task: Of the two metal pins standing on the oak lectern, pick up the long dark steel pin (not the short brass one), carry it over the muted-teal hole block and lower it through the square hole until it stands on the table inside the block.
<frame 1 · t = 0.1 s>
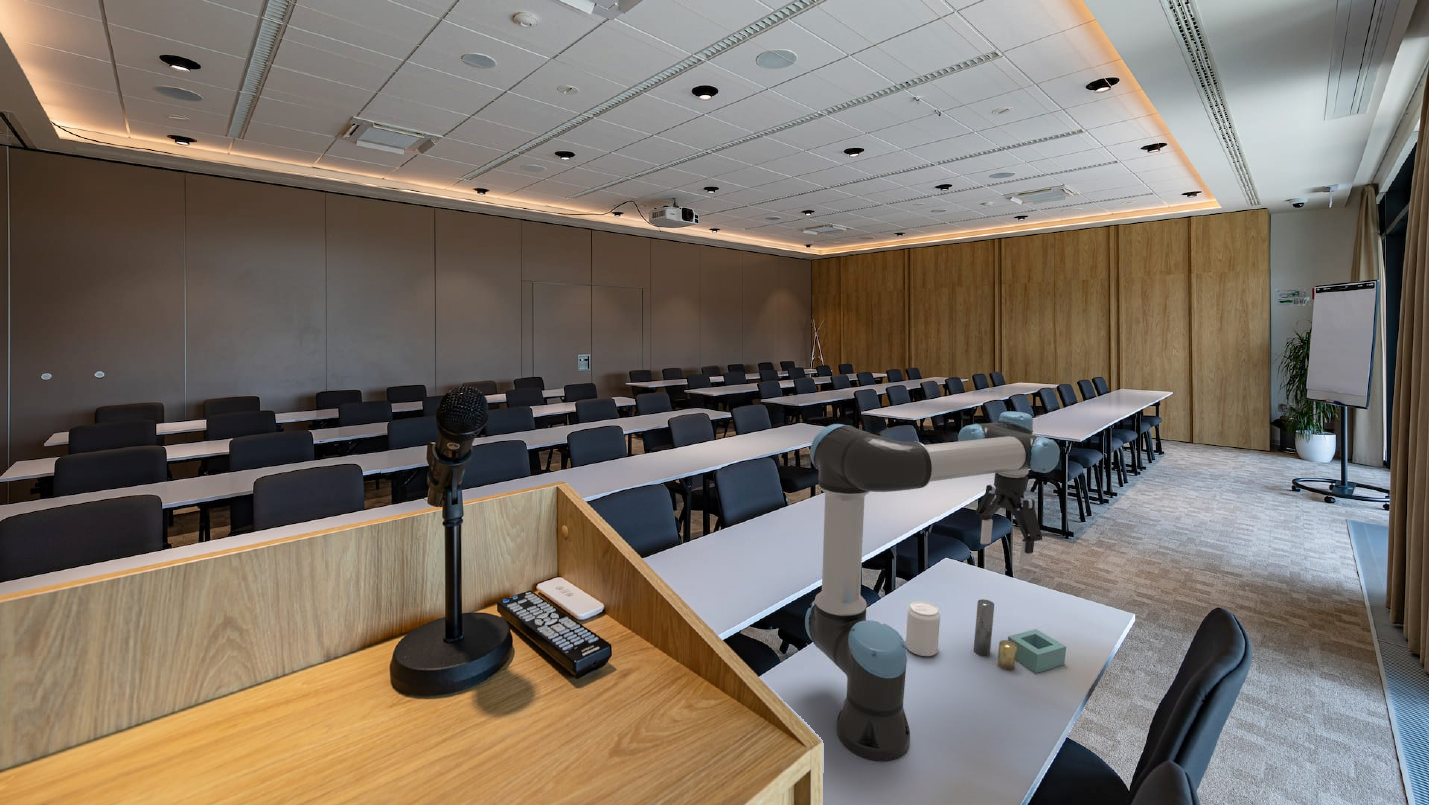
hand: (1004, 553, 156), 28 cm above the table, fingers open, 13 cm apart
hole block: (1035, 659, 158), on the table
beverage can: (921, 650, 162), on the table
short pin: (1006, 666, 155), on the table
long pin: (981, 652, 161), on the table
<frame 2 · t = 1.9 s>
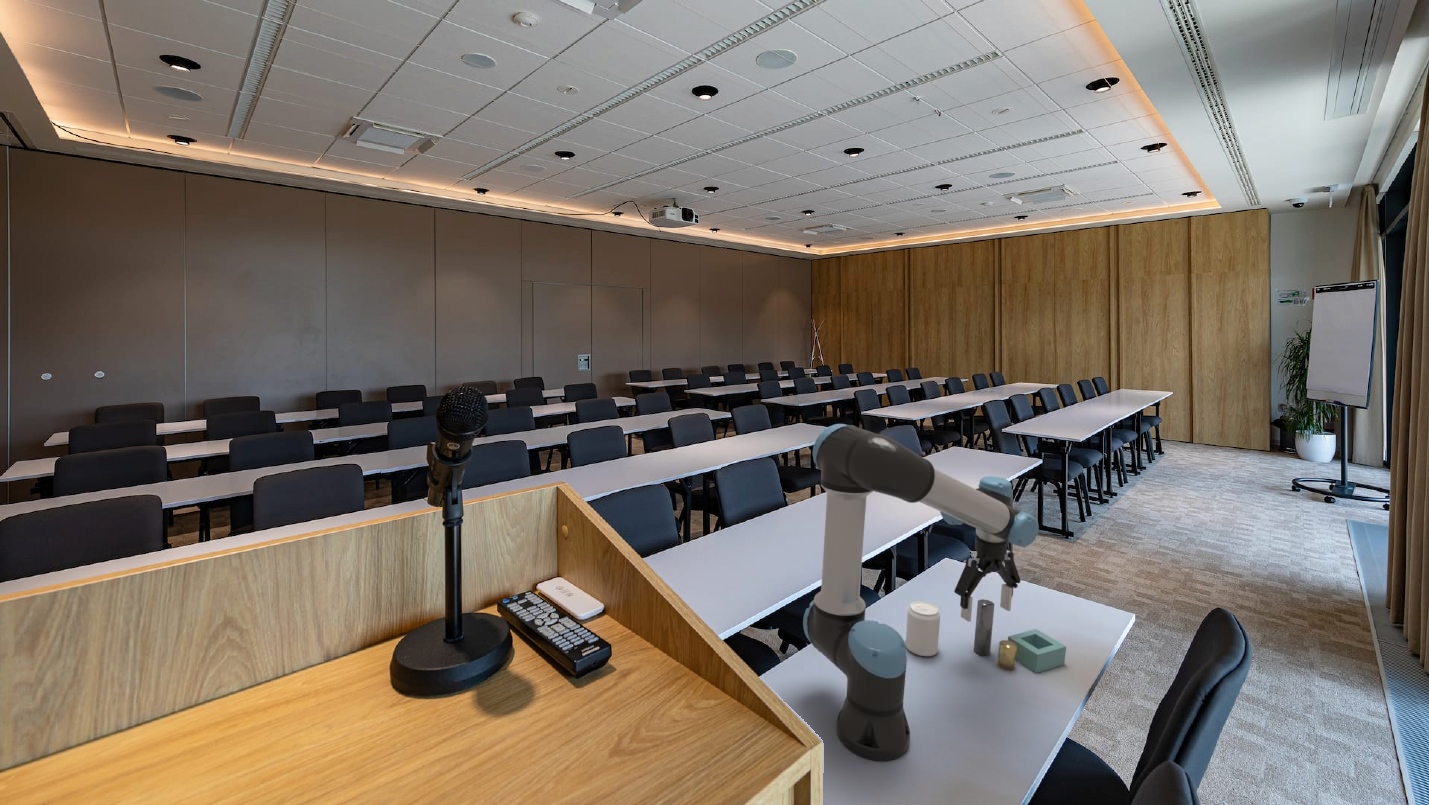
hand: (985, 614, 159), 11 cm above the table, fingers open, 13 cm apart
nothing on the table moved.
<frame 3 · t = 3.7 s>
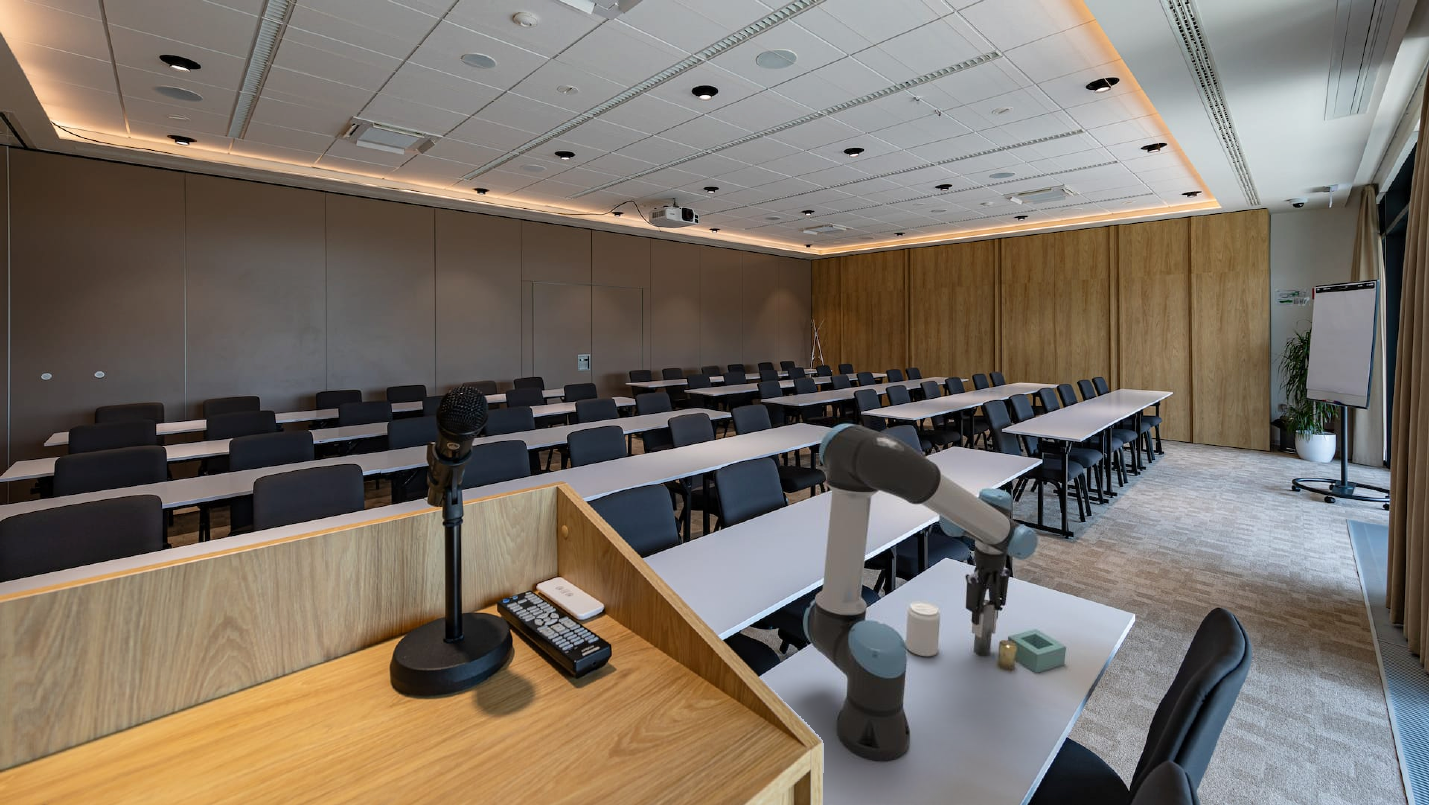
hand: (983, 632, 160), 6 cm above the table, fingers closed on long pin, 4 cm apart
long pin: (981, 652, 161), on the table, touching gripper
everything else where it was.
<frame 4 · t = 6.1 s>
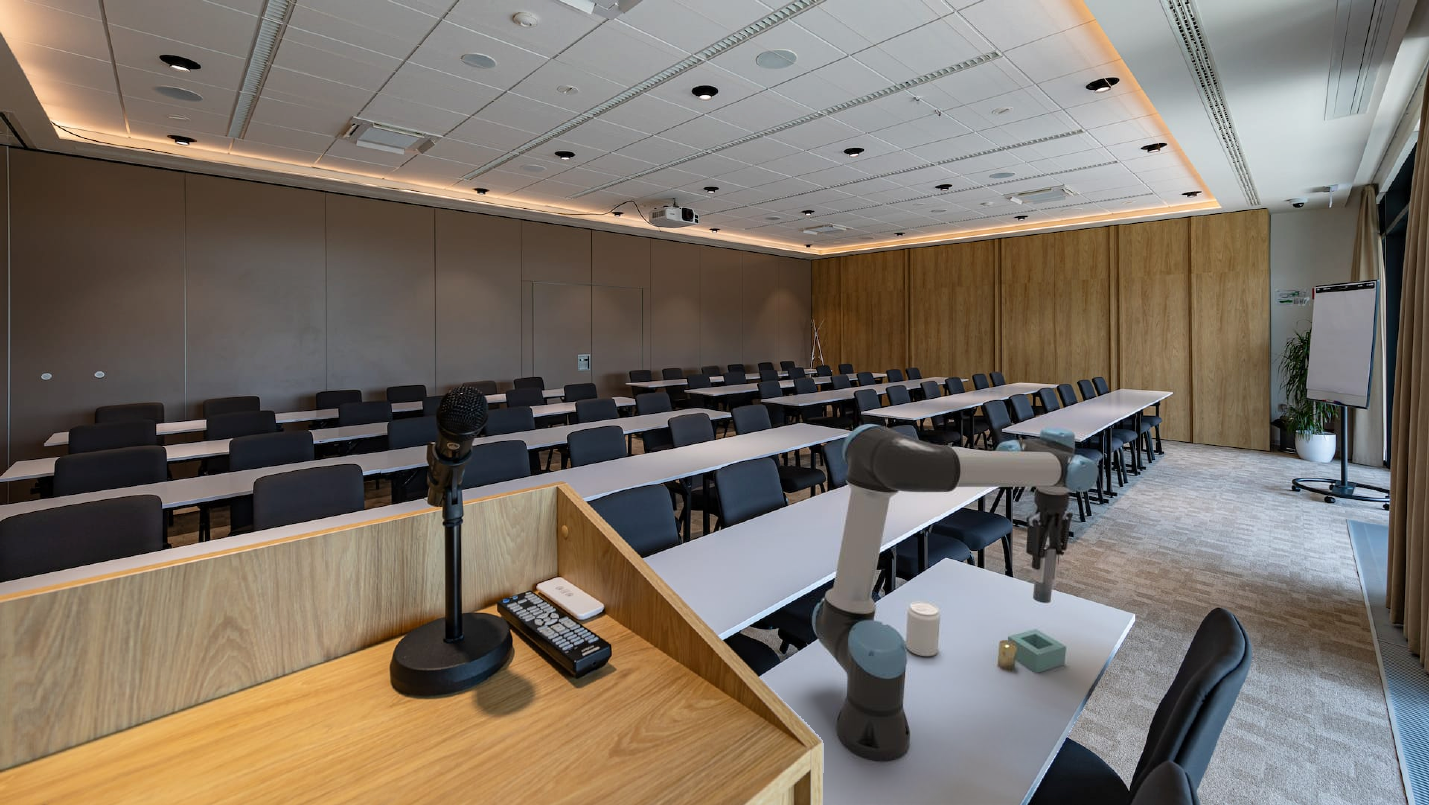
hand: (1043, 578, 154), 22 cm above the table, fingers closed on long pin, 4 cm apart
long pin: (1041, 599, 155), point 17 cm above the table, touching gripper
everything else where it was.
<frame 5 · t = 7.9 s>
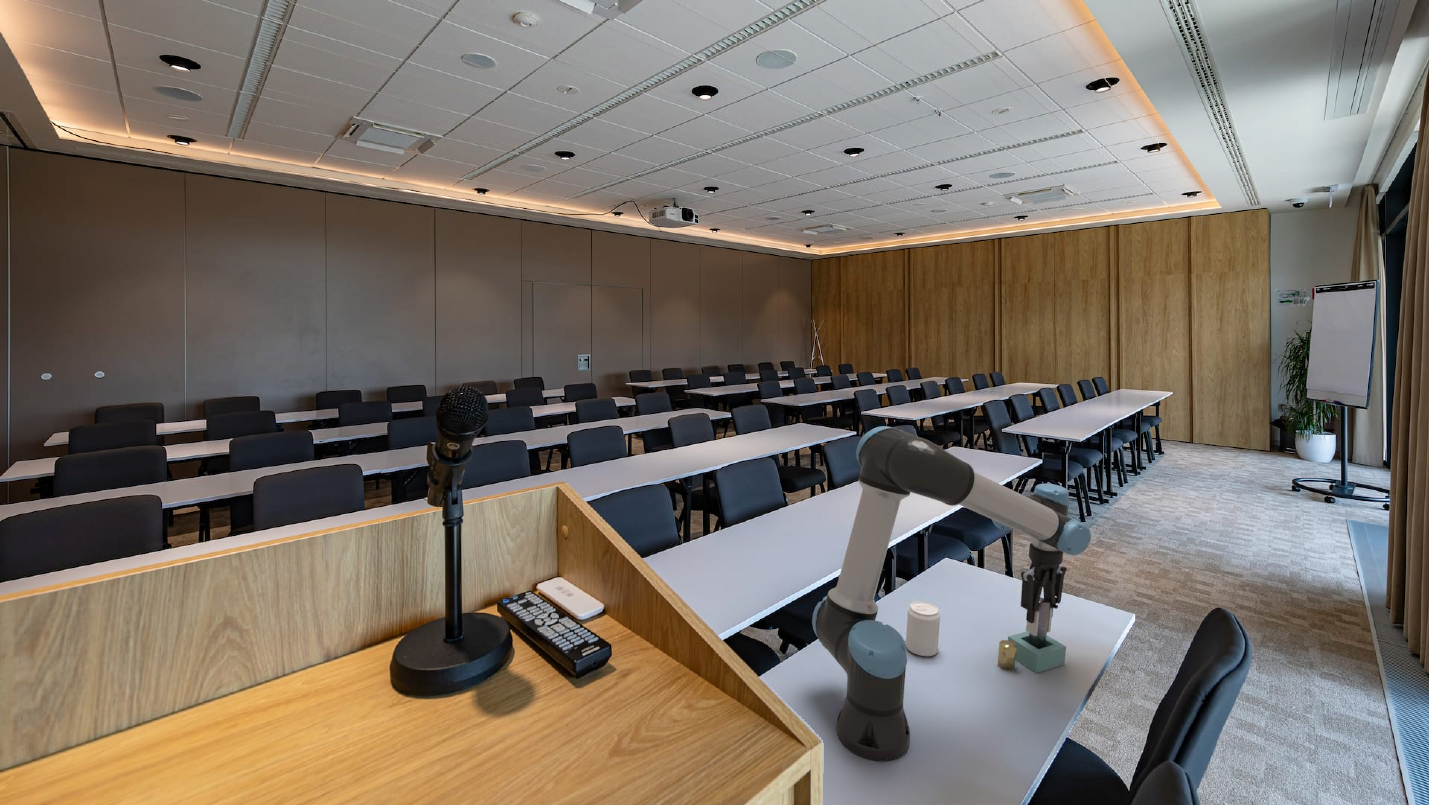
hand: (1038, 631, 157), 8 cm above the table, fingers closed on long pin, 4 cm apart
long pin: (1036, 651, 158), point 2 cm above the table, touching gripper
everything else where it was.
when the fingers open (7 cm above the table, at t = 9.0 s): long pin drops 1 cm, resting in hole block.
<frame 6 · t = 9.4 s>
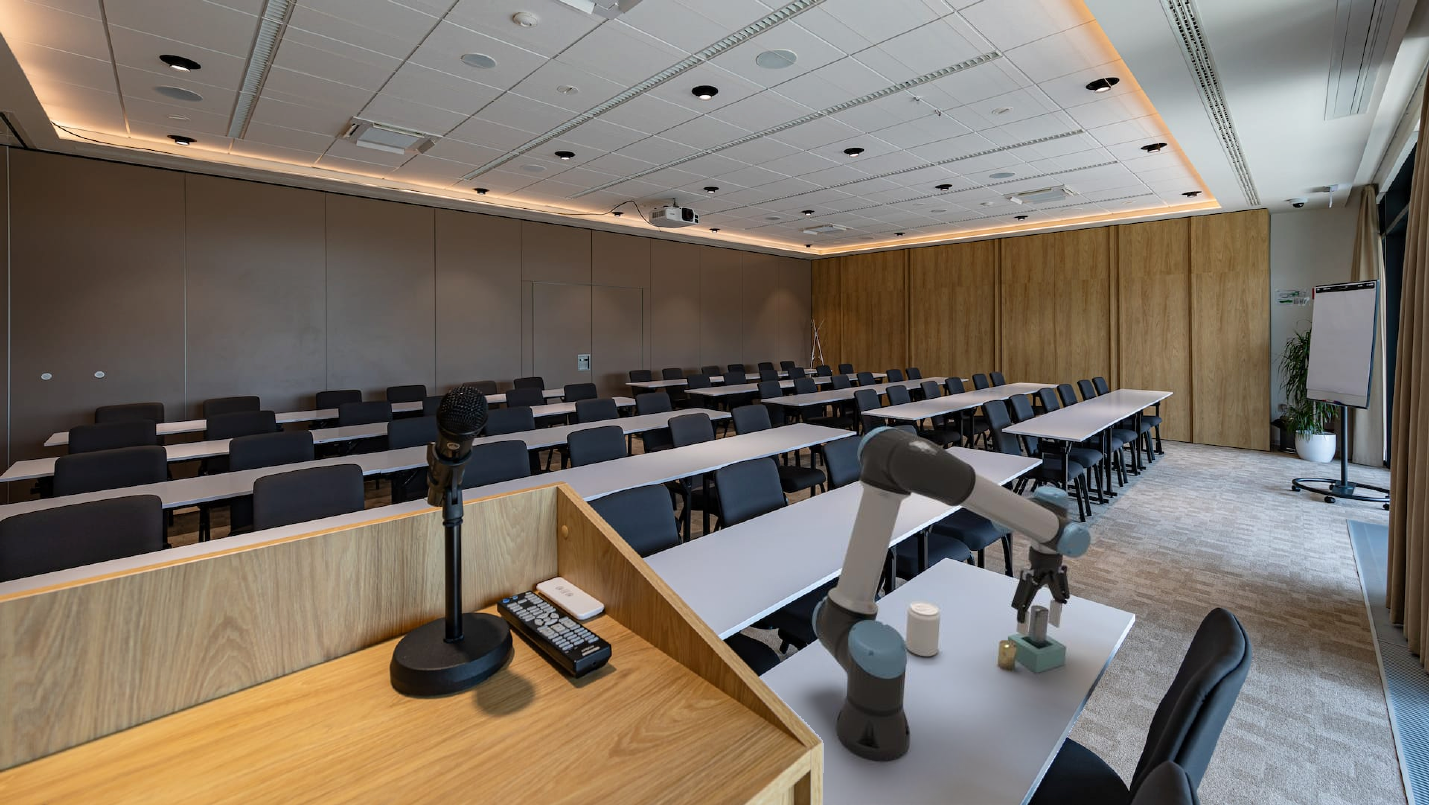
hand: (1038, 629, 156), 8 cm above the table, fingers open, 10 cm apart
long pin: (1034, 659, 158), resting in hole block
everything else where it was.
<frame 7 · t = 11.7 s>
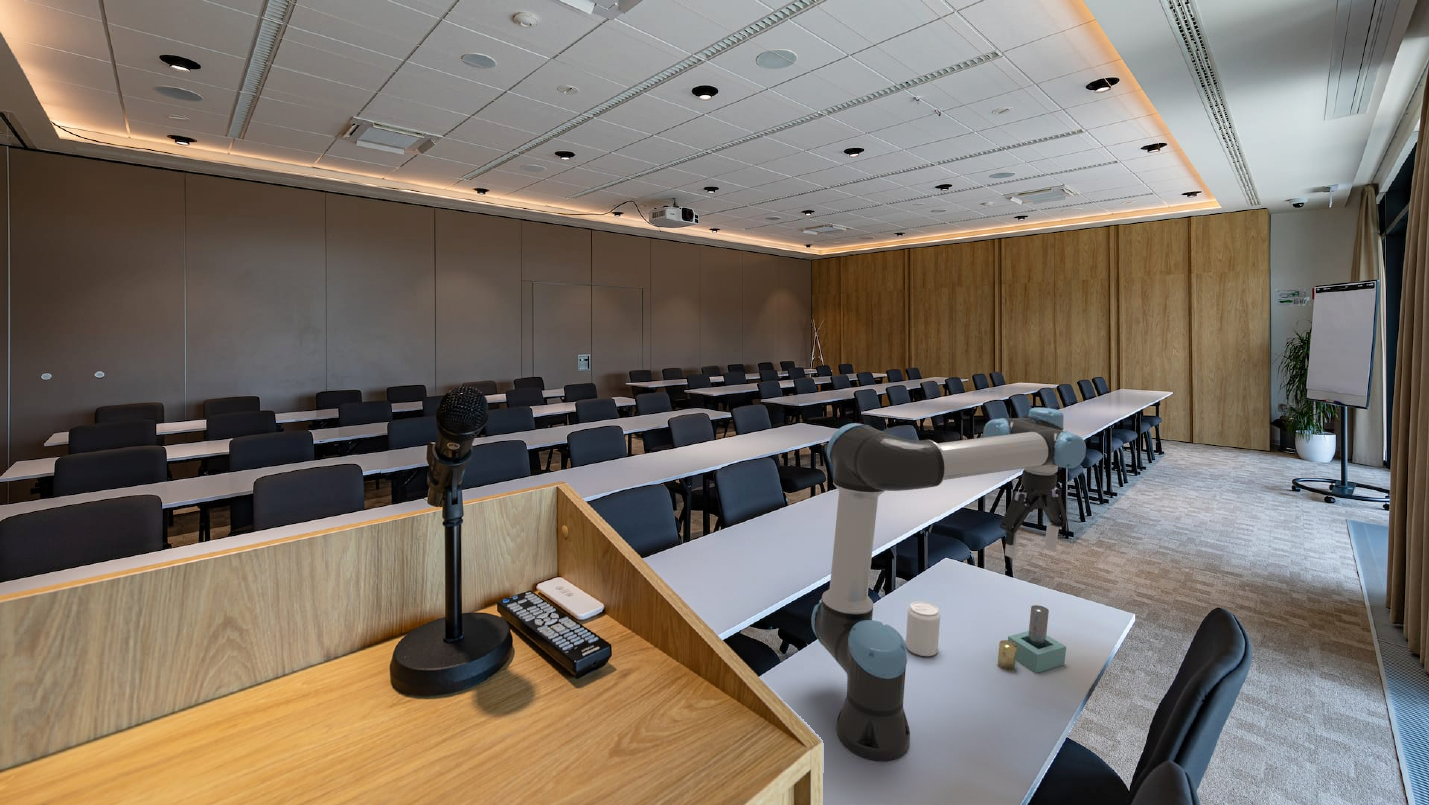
hand: (1030, 553, 152), 30 cm above the table, fingers open, 13 cm apart
nothing on the table moved.
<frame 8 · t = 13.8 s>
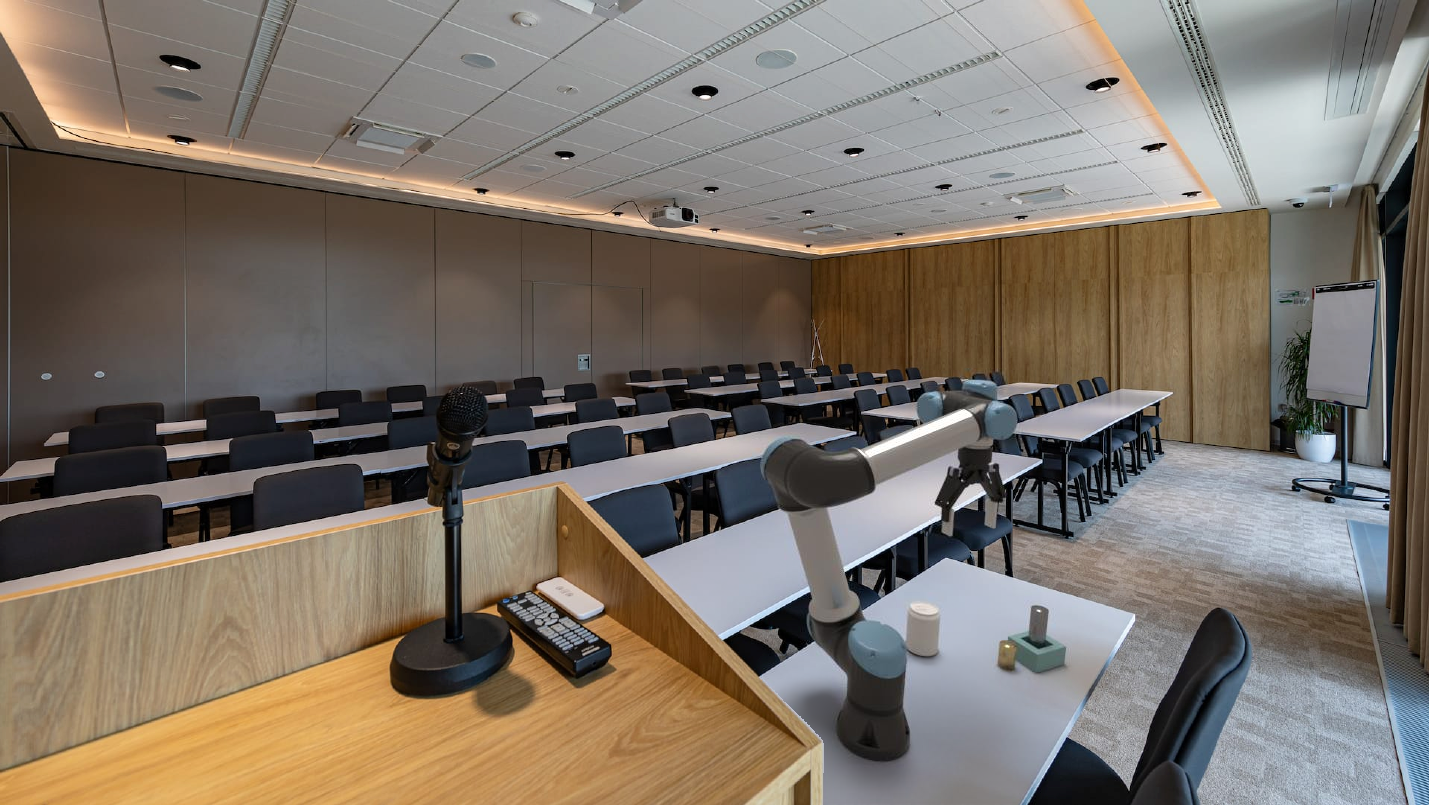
hand: (968, 530, 148), 37 cm above the table, fingers open, 13 cm apart
nothing on the table moved.
at the end: long pin 0.0 cm off-centre on the hole block, point 0.0 cm above the hole block's base; long pin tilted 0°; short pin moved 0.0 cm from its start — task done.
